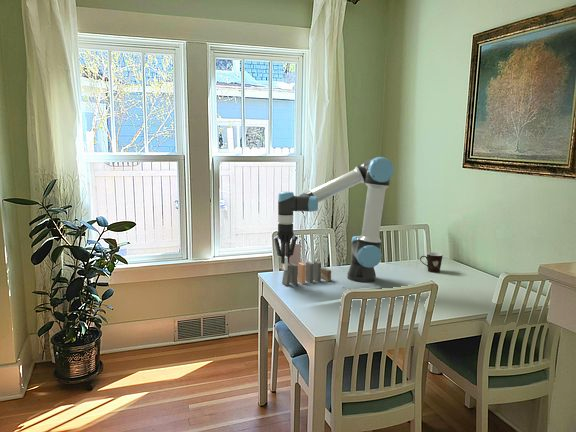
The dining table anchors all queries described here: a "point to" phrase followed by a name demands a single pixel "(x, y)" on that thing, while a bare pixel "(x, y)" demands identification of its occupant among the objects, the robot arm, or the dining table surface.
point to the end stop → (326, 274)
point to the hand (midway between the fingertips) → (285, 269)
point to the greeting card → (294, 255)
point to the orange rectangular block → (301, 273)
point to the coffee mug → (433, 262)
